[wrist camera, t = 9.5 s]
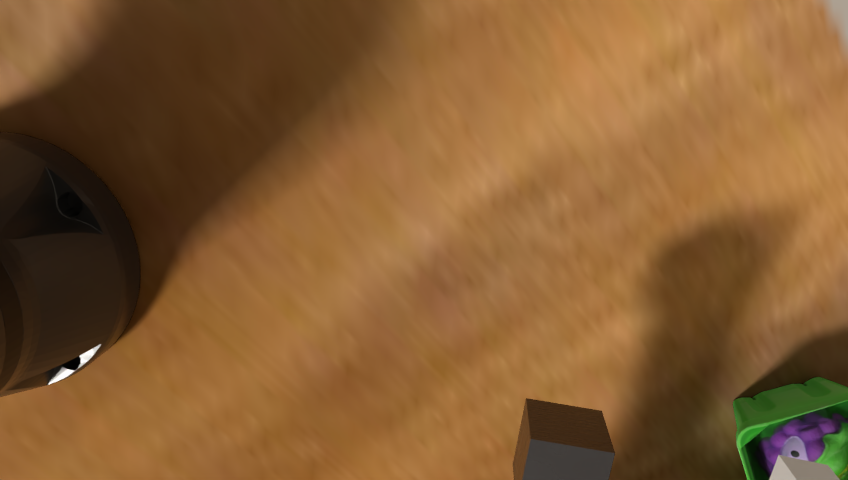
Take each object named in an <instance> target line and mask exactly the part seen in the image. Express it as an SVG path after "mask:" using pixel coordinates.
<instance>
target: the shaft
mask: <svg viewBox="0 0 848 480" xmlns="http://www.w3.org/2000/svg"><path fill="white" fill-rule="evenodd" d="M614 455H615V452H614V449H613V445H612V442H611V439H610V436H609V433H608V429H607V426H606V423H605V420H604V417H603V413H602V411H599V410H593V409H587V408H581V407H575V406H569V405H563V404H557V403H551V402H545V401H539V400H533V399H527V398H526V402H525V406H524V411H523V416H522V421H521V426H520V431H519V436H518V441H517V446H516V451H515V456H514V461H513V474H514V480H608V479H609V475H610V471H611V467H612V463H613V459H614Z"/></svg>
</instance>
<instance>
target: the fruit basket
mask: <svg viewBox="0 0 848 480" xmlns="http://www.w3.org/2000/svg"><path fill="white" fill-rule="evenodd" d="M733 408H734V413H735V419H736V424H737V432H736V441H737V447H738V451H739V454H740V457H741V460H742V464H743V467H744V470H745V474H746V477H747V480H769V479H770V476H771V474H772V471H773V468H774V466H775V463H776V460H777V458H778V455H782V456H786V457H791V458H796V459H801V460H806V461H811V462H815V463H820V464H825V465H828V466H829V467H830V468H831V469H832V471H833V472H834V473H835V474H836V476H837V477H838V478H839V479H840V480H848V387H846V386H843V385H841V384H838V383H835V382H833V381H830V380H827V379H824V378H822V377H815V378H812V379H810V380H808V381H806V382H804V384H789V385H786V386H782V387H779V388H775V389H771V390H767V391H764V392H760V393H759V394H757V395H755V396H754V397H753V398H750V397H748V398H744V397H742V398H738V399H736V400H734V402H733Z"/></svg>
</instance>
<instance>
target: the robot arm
mask: <svg viewBox="0 0 848 480" xmlns="http://www.w3.org/2000/svg"><path fill="white" fill-rule="evenodd" d="M139 286H140V263H139V255H138V250H137V245H136V241H135V238H134V235H133V232H132V229H131V227H130V224H129V222H128V220H127V218H126V215H125V214H124V212H123V210H122V208H121V206H120V205H119V203H118V202H117V200H116V199H115V197H114V196H113V194H112V193H111V192H110V190H109V189H108V188H107V187H106V185H105V184H104V183H103V182H102V181H101V180H100V179H99V178H98V177H97V176H96V175H95V174H94V173H93V172H92V171H91V170H90V169H89V168H88V167H87V166H85V165H84V164H83V163H82V162H80V161H79V160H78V159H76V158H75V157H73V156H72V155H70V154H69V153H67V152H65V151H64V150H62V149H60V148H58V147H56V146H54V145H52V144H50V143H47V142H45V141H42V140H39V139H36V138H33V137H30V136H26V135H21V134H16V133H8V132H0V397H3V396H6V395H10V394H14V393H18V392H22V391H26V390H30V389H34V388H38V387H42V386H46V385H49V384H52V383H55V382H58V381H61V380H63V379H66V378H68V377H70V376H72V375H74V374H75V373H77V372H79V371H81V370H82V369H84V368H85V367H86V366H88V365H89V364H90V363H92V362H93V361H94V360H95V359H97V358H98V357H99V356H100V355H101V354H103V353H104V352H105V351H106V350H107V349H109V348H110V347H111V346H112V345H113V344H114V343H115V342H116V340H117V339H118V338H119V337H120V336H121V334H122V333H123V331H124V330H125V328H126V327H127V325H128V323H129V321H130V319H131V317H132V314H133V312H134V309H135V306H136V303H137V298H138V293H139ZM769 480H840V479H839V478H838V477H837V476H836V474H835V473H834V472H833V471H832V469H831V468H830V467H829V466H828V465H825V464H820V463H815V462H811V461H806V460H801V459H796V458H791V457H786V456H782V455H778V458H777V460H776V463H775V466H774V468H773V471H772V474H771V476H770V479H769Z"/></svg>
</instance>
